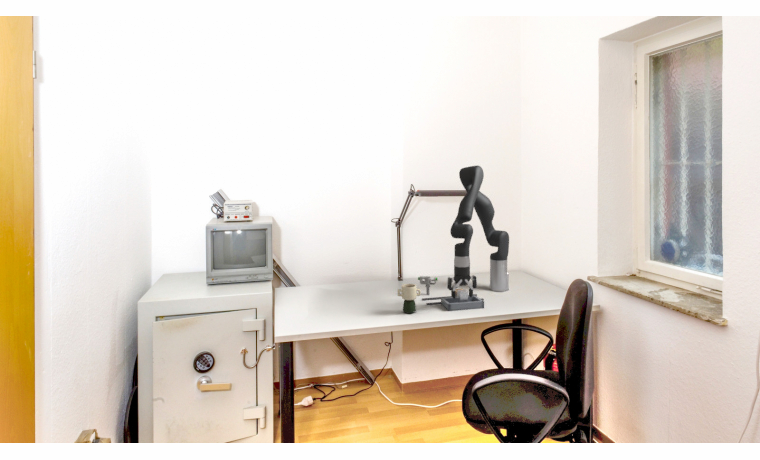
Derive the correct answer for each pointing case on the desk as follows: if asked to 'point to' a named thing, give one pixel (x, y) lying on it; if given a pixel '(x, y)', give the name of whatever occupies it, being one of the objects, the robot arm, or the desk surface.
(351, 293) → the desk surface
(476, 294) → the slide rails
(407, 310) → the character mug
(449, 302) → the tray
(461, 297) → the stop block
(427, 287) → the mechanical component
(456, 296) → the slider
